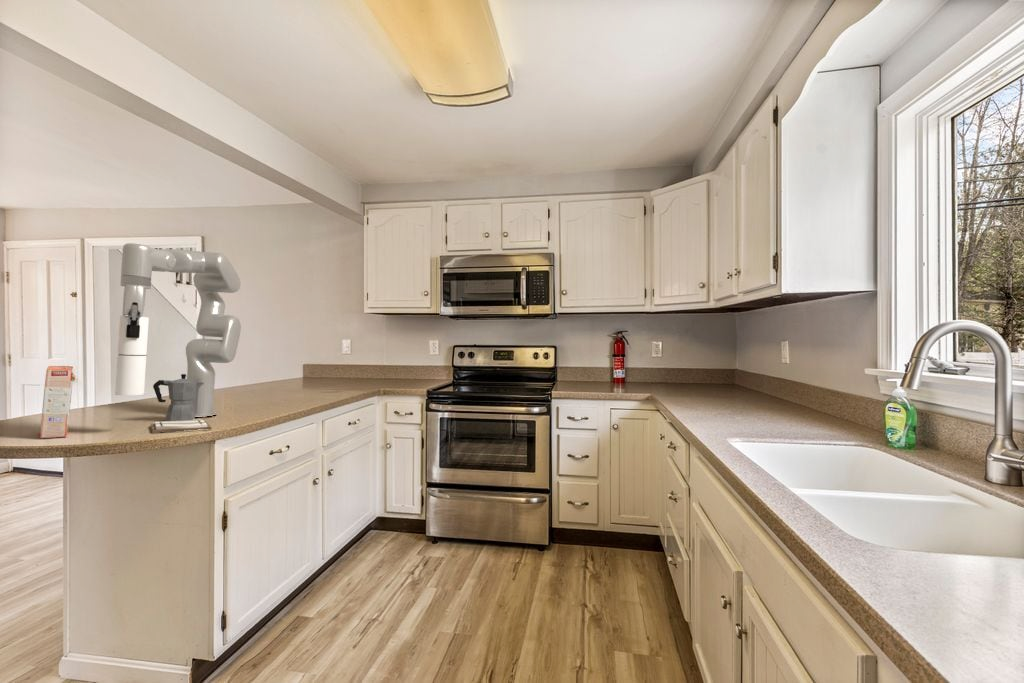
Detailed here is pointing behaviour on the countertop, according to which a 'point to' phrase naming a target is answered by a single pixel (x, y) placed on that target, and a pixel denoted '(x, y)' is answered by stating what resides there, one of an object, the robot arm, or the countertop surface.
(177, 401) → the coffeepot
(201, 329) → the robot arm
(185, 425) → the notepad
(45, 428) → the cracker box
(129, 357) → the cylindrical container
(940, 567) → the countertop surface
